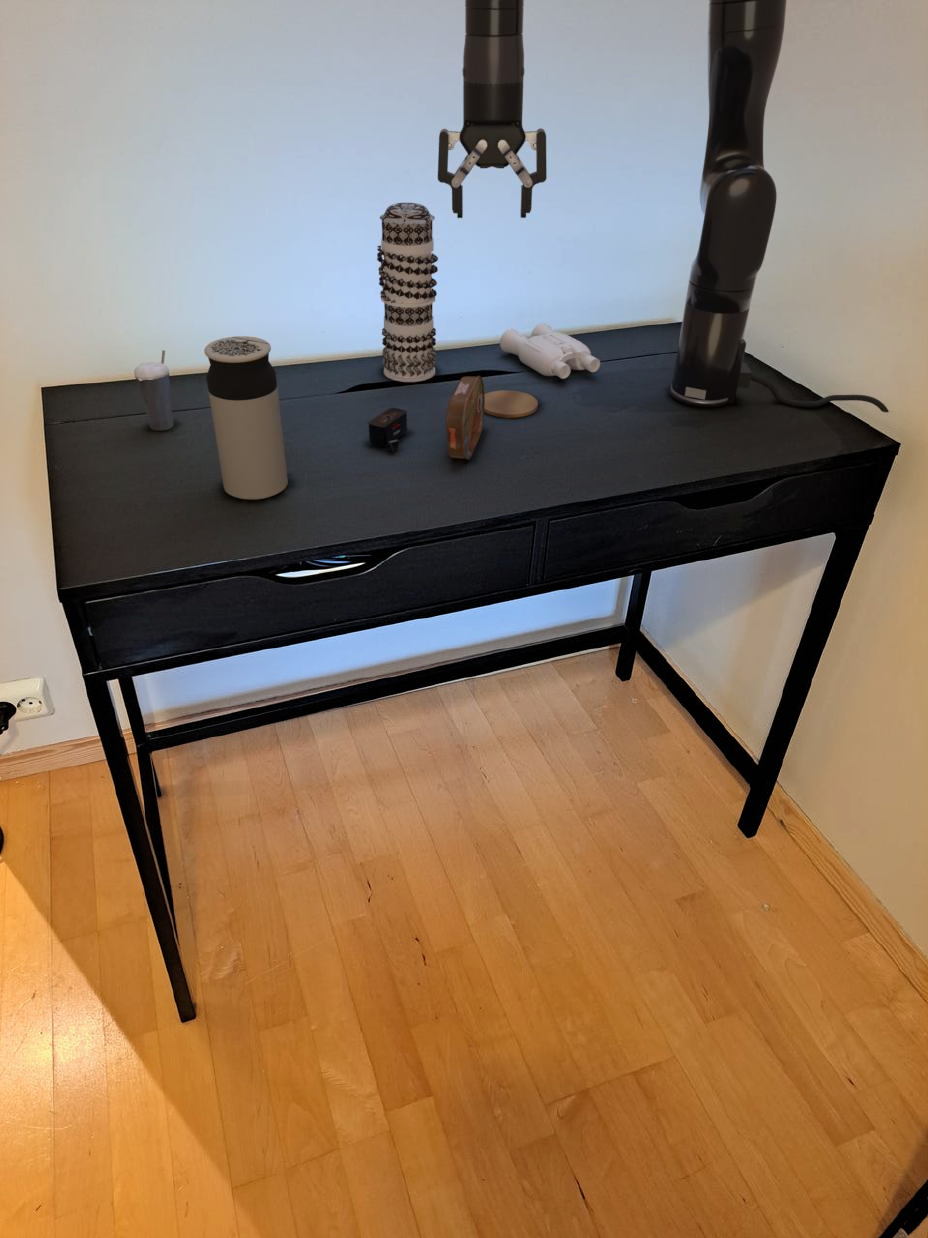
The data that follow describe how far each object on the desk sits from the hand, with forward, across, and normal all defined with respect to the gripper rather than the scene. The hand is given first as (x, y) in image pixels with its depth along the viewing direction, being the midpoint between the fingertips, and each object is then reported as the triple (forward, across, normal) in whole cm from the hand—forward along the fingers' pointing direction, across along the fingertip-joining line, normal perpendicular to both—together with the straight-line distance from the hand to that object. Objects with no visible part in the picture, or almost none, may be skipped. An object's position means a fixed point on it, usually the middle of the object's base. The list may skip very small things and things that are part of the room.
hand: (491, 216), depth 121 cm
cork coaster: (+26, -3, +2) cm, 27 cm away
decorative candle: (+26, +13, -11) cm, 31 cm away
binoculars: (+27, -10, -15) cm, 32 cm away
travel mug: (+26, +30, +29) cm, 49 cm away
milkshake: (+25, +46, +12) cm, 54 cm away
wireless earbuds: (+26, +14, +15) cm, 33 cm away
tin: (+26, +3, +16) cm, 31 cm away
